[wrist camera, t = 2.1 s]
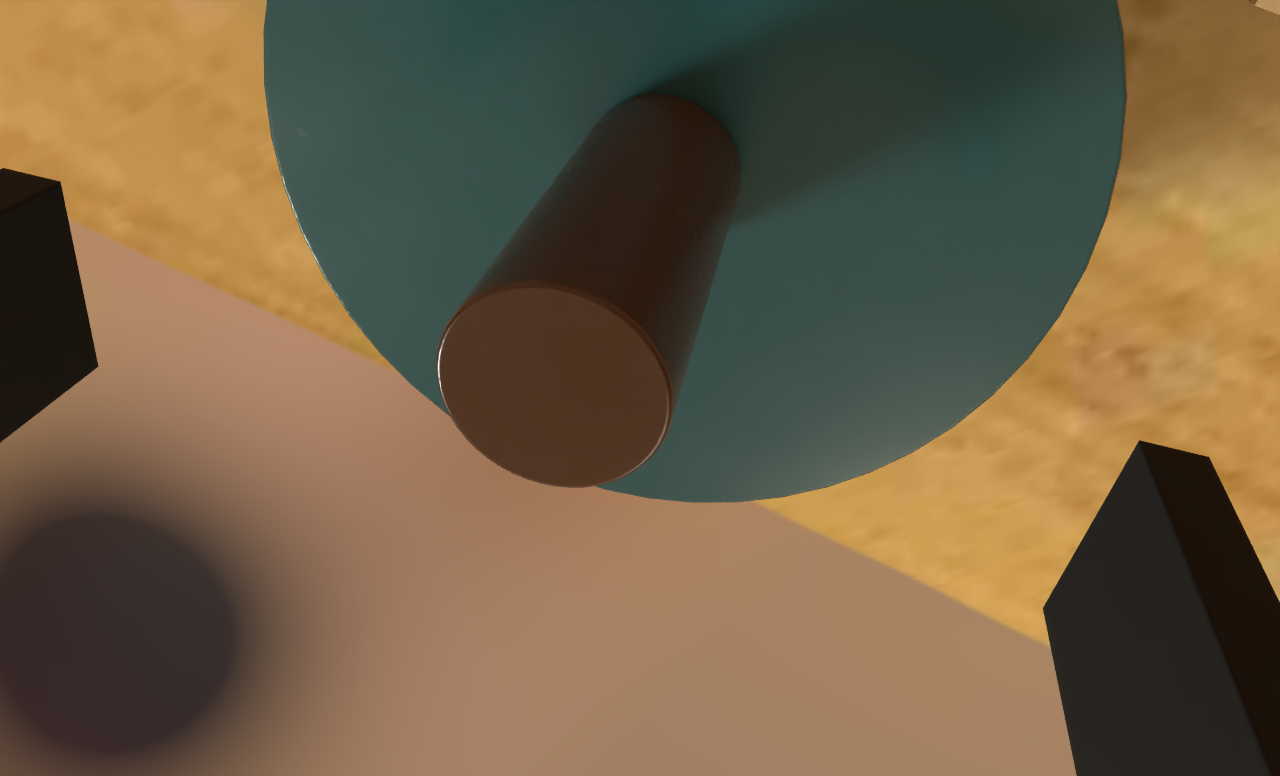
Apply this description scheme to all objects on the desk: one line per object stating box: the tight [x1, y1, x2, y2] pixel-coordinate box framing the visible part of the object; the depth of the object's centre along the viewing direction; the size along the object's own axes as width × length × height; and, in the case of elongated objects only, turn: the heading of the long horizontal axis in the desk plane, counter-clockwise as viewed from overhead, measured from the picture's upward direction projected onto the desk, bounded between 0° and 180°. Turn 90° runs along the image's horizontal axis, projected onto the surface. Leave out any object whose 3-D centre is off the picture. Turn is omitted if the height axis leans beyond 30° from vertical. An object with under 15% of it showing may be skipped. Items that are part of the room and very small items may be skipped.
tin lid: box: [264, 0, 1127, 502], centre depth 15 cm, size 16×16×9 cm
